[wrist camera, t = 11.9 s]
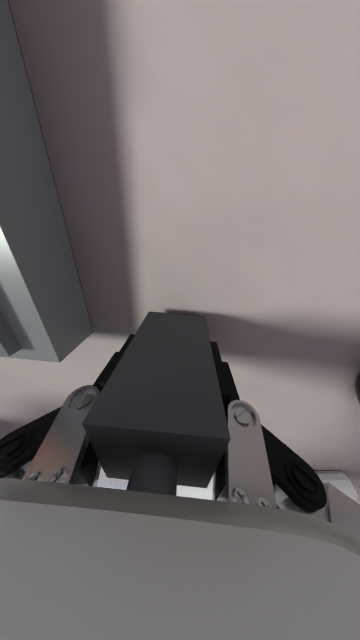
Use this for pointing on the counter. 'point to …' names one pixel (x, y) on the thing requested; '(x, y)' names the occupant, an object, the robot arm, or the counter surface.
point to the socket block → (32, 228)
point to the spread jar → (358, 387)
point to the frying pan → (332, 477)
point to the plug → (161, 409)
